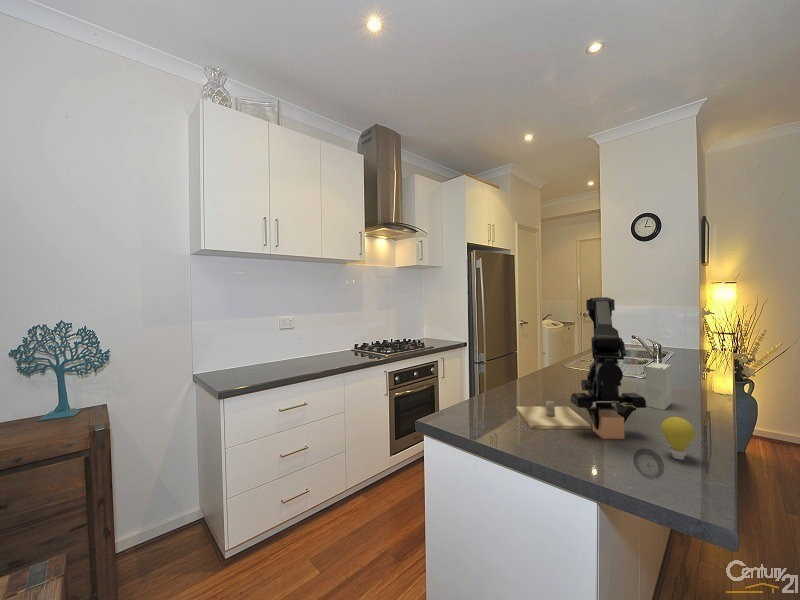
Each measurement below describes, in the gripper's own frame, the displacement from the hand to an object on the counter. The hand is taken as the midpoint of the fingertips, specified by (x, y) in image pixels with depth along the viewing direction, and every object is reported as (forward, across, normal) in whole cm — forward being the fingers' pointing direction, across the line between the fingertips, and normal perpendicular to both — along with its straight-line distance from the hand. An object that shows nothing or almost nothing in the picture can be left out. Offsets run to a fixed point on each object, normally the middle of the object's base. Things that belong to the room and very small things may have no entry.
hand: (607, 429), depth 102 cm
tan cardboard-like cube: (+2, 0, 0) cm, 2 cm away
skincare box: (+2, -30, -26) cm, 40 cm away
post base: (+2, +12, -13) cm, 18 cm away
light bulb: (+2, -10, +14) cm, 17 cm away
